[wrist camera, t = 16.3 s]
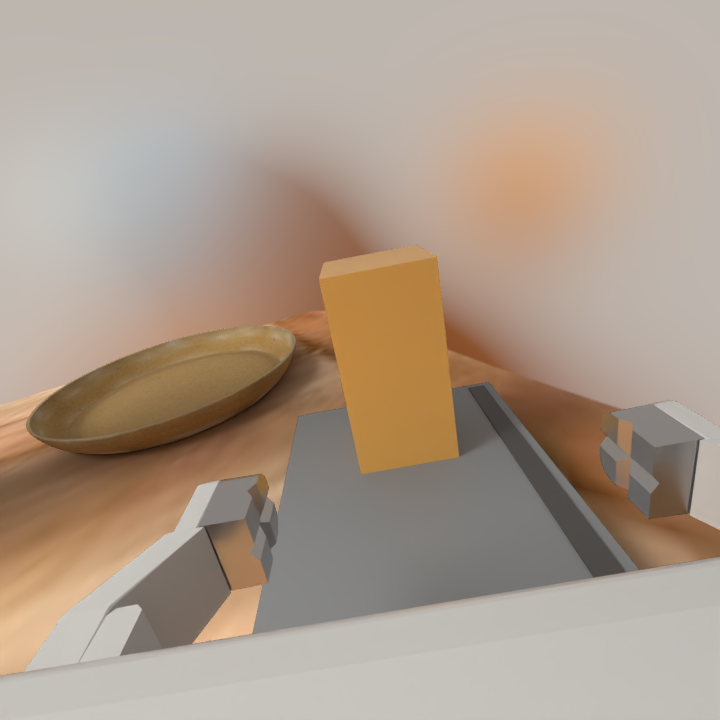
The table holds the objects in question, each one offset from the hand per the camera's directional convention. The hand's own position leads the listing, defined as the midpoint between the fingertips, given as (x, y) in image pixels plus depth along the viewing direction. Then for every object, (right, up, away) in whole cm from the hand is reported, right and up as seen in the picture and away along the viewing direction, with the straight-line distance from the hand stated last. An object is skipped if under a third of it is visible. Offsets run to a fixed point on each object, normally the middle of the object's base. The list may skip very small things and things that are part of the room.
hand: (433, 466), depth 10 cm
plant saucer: (-19, -1, +31) cm, 37 cm away
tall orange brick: (+1, -2, +13) cm, 13 cm away
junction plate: (+1, -5, +10) cm, 11 cm away
